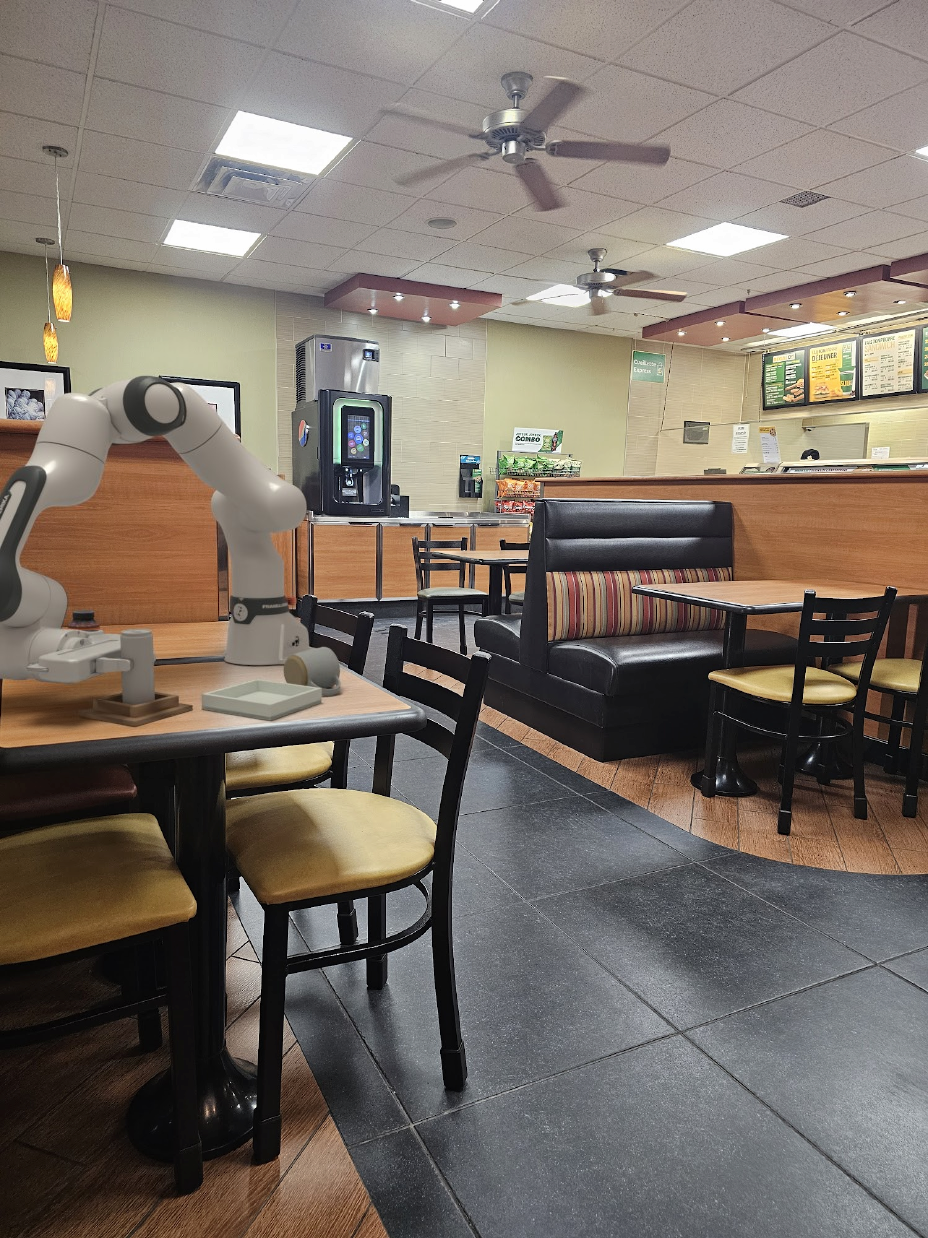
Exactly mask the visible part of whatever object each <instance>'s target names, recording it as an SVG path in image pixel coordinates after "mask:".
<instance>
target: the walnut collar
mask: <svg viewBox="0 0 928 1238" xmlns="http://www.w3.org/2000/svg"><path fill="white" fill-rule="evenodd" d="M179 700H180V695H175V694H169V693H164V692H158V691H157V692H156V691H155V700H153V701H149V702H145V703H141V704H138V705H132V704H126V703H123V696H122V692H120V693H116V694H112V695H108V696H103V697H100V698H94V699H92V707H90V708H89V707H88V708H87V709H86V708H85V709H83V710H78V711H77V712H78V714H77V715H78V717H80V718H86V719H91V720H96V721H101V720H102V722H108V723H112V724H117V723H119V724H118V725H123V726H127V727H134V728H135V727H139V726H142V725H145V724H149V723H152V722H156V720H157V721H160V720H163V719H166V718H165V717H167V718H169V717H173V716H172V715H174V716H177V715H179V714H183V712H184V713H187V712H190V711H189V710H191V711H193V710H194V709H193V707H194V706H193V704H187V703H182V702H179ZM176 714H177V715H176Z"/></svg>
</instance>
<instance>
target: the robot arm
mask: <svg viewBox="0 0 928 1238" xmlns="http://www.w3.org/2000/svg"><path fill="white" fill-rule="evenodd" d="M155 437H163V438H165V439H166V441H167V442H168V443H169V445H171V447H172V448H173V450H174V451H175V452H176V453H177V455H179V457H181V459H182V460H183V461H184V463H186V465H187V466H188V467H189V468H190V469H191V471H192V472H193V473H194V474H195V475H196V477H197V478H198V479H199V480H200V481H202V482H203V483H204V484H205V485H206V486H208V487H211V488H212V489H214V490H215V491H214V492H213V494H212V496H211V501H210V509H211V513H212V516H213V517H214V519H215V521H217V523H218V524H219V525H220V528H221V529H222V533H223V534H224V539H225V541H226V545H227V548H228V553H229V558H230V565H231V566H230V567H231V568H230V569H231V572H230V573H231V595H230V596H229V602H228V603H229V612H230V613H231V617H230V619H229V620H228V626H227V627H228V628H227V638H226V647H225V648H226V649H225V650H224V651H223V655H222V656H223V657H224V659H223V660H224V661H225V662H227V663H230V664H234V665H235V664H236V665H243V666H248V665H249V666H269V665H284V664H285V662H286V660H287V658H288V657H290V656H292V655H294V654H296V653H300V652H304V651H308V650H313V649H317V648H318V647H317V648H316V647H311V646H310V639H309V632H308V628H307V626H305V625H304V624H303V623H301V622H300V620H298V619H297V618H296V617H295V616H294V615H293V614H292V613H290V611H291V610H290V607H289V606H297V605H296V604H297V602H298V601H297V598H296V596H288V595H287V596H286V595H285V563H284V559H283V557H282V555H281V554H280V553H279V552H278V551H277V550H276V547H275V544H274V542H273V538H272V534H279V533H283V532H287V531H291V530H294V529H297V528H298V527H300V525H301V524H302V523H303V521H304V519H305V517H306V514H307V500H306V497H305V495H304V493H303V492H302V490H301V489H300V488H298V487H297V486H296V485H293V484H292V483H290V482H288V481H286V480H284V479H283V478H282V477H280V476H278V475H277V474H276V473H275V472H273V471H272V470H271V469H270V468H269V467H267V465H265V464H264V463H263V462H262V461H261V460H259V459H258V458H256V456H254V455H253V454H252V453H251V452H250V451H249V450H248V449H247V448H246V447H245V446H244V445H243V444H242V443H241V441H240V440H239V438H237V437H236V435H235V434H234V432H232V430H231V429H230V428H229V426H228V425H227V424H226V423H225V421H224V420H223V419H222V417H220V415H219V414H218V413H217V411H216V410H215V409H214V408H213V407H212V406H211V404H209V403H208V402H207V401H206V400H205V399H204V398H203V397H202V396H201V394H199V393H198V392H197V391H196V390H194V389H193V388H192V387H191V386H190V385H188V384H186V383H183V382H178V381H177V382H169V381H167V380H165V379H164V378H161V377H158V376H153V375H140V376H136V377H132V378H127V379H121V380H117V381H115V382H112V383H111V384H110V385H106V386H104V387H100V388H97V389H95V390H93V391H91V392H90V393H88V394H85V393H80V392H68V393H67V392H66V393H63V394H61V395H60V396H58V397H57V398H56V399H55V400H54V402H53V403H52V405H51V407H50V408H49V410H48V411H47V414H46V417H45V419H44V420H43V423H42V425H41V428H40V430H39V433H38V435H37V439H36V441H35V445H34V448H33V451H32V454H31V456H30V458H29V459H28V461H27V463H25V465H24V466H21V467H19V468H18V469H16V470H15V471H14V472H13V473H12V474H11V475H10V477H9V478H8V480H7V482H6V483H5V485H4V487H3V489H2V490H1V493H0V679H1V680H2V679H3V680H10V681H12V680H13V681H27V680H31V679H32V680H35V681H38V682H40V683H51V684H53V683H54V684H67V685H72V684H76V683H80V682H83V681H86V680H88V679H93V678H95V677H97V676H101V675H104V674H107V673H114V672H121V671H126V672H127V671H129V670H132V669H133V668H134V665H133V664H134V661H133V659H128V658H122V659H121V645H120V635H121V633H105V631H104V629H103V630H102V629H100V630H97V629H94V630H74V629H68V628H63V625H64V622H65V618H66V615H67V612H68V607H69V606H68V605H69V597H68V593H67V591H66V588H64V586H63V585H62V584H61V582H59V581H58V580H56V579H53V578H51V577H49V576H47V575H46V576H45V575H44V574H41V573H38V572H36V571H33V570H30V569H27V568H25V567H22V565H21V563H20V556H21V553H22V551H23V549H24V547H25V544H26V542H27V541H28V539H29V536H30V534H31V533H30V532H31V531H32V528H33V526H34V524H35V521H36V519H37V518H38V517H39V515H40V514H41V513H42V512H44V510H46V509H49V508H51V507H52V508H53V507H73V506H77V505H80V504H83V503H84V502H87V501H88V500H90V499H91V498H92V497H94V495H95V493H96V492H97V490H98V488H99V486H100V484H101V481H102V478H103V473H104V470H105V465H106V462H107V458H108V453H109V450H110V448H111V446H120V445H121V446H122V445H124V444H125V445H126V444H128V445H129V444H137V443H141V442H144V441H147V440H150V439H152V438H155ZM153 654H154V663H155V662H156V656H157V655H156V654H157V653H156V652H155V651H153Z"/></svg>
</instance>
